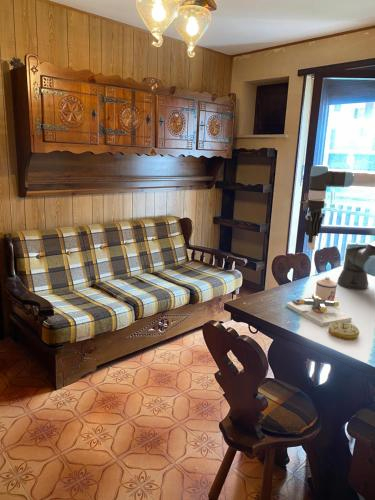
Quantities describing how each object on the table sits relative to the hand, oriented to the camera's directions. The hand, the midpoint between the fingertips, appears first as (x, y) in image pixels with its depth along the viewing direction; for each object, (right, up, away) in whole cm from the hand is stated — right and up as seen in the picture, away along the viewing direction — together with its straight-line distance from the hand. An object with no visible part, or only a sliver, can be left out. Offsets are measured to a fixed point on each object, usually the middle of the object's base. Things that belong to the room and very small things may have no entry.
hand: (310, 249), depth 184 cm
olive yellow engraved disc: (+1, -33, -36) cm, 49 cm away
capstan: (-3, -26, -18) cm, 32 cm away
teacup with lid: (+6, -24, -2) cm, 25 cm away
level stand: (-3, -28, -18) cm, 33 cm away
